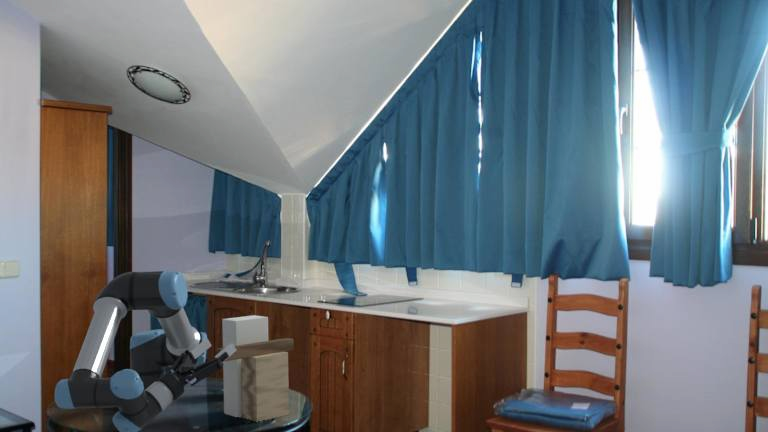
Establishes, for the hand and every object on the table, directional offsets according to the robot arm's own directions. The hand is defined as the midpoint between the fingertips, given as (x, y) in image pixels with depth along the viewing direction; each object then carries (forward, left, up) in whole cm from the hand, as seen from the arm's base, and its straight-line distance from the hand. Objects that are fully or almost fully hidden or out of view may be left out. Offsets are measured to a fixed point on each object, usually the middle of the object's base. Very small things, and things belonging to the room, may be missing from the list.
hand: (221, 344), depth 217 cm
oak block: (0, +16, -24) cm, 29 cm away
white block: (-9, +15, -24) cm, 30 cm away
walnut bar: (0, +12, -5) cm, 13 cm away
